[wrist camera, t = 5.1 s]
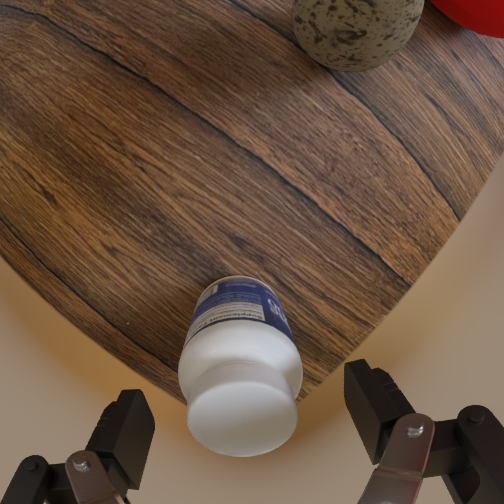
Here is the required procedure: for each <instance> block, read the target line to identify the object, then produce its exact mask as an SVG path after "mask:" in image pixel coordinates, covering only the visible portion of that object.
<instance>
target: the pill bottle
mask: <svg viewBox="0 0 504 504" xmlns="http://www.w3.org/2000/svg"><path fill="white" fill-rule="evenodd" d="M178 378H179V384H180V388H181V390H182V393H183V395H184V397H185V398H186V400H187V404H188V406H187V415H186V419H187V426H188V429H189V431H190V433H191V435H192V436H193V437H194V438H195V440H196V441H197V442H199V443H200V444H201V445H202V446H204V447H206V448H208V449H209V450H211V451H213V452H216V453H219V454H223V455H227V456H235V457H249V456H255V455H260V454H263V453H267V452H269V451H272V450H274V449H275V448H277V447H280V446H281V445H282V444H283V443H285V442H286V441H287V440H288V439H289V438H290V437H291V435H292V434H293V432H294V430H295V428H296V425H297V421H298V415H297V408H296V403H295V399H296V397H297V395H298V393H299V391H300V388H301V385H302V378H303V369H302V363H301V359H300V356H299V352H298V350H297V347H296V344H295V342H294V339H293V336H292V333H291V331H290V328H289V325H288V322H287V319H286V317H285V314H284V312H283V309H282V306H281V304H280V302H279V300H278V298H277V296H276V295H275V293H274V292H273V290H272V289H271V288H270V287H269V286H268V285H266V284H265V283H263V282H262V281H260V280H258V279H255V278H252V277H249V276H242V275H235V276H228V277H224V278H222V279H219V280H217V281H215V282H214V283H212V284H211V285H209V286H208V287H207V288H206V289H205V290H204V291H203V293H202V294H201V296H200V298H199V299H198V302H197V304H196V307H195V309H194V313H193V316H192V320H191V323H190V326H189V330H188V333H187V336H186V340H185V344H184V347H183V350H182V354H181V357H180V361H179V368H178Z"/></svg>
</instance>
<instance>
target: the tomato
mask: <svg viewBox="0 0 504 504" xmlns="http://www.w3.org/2000/svg"><path fill="white" fill-rule="evenodd" d="M429 1H430V2H431V3H433V4H434V5H435V6H436V7H437V8H438V9H439V10H440V11H441V12H443V13H444V14H445V15H447V16H448V17H449V18H450V19H452V20H453V21H455V22H456V23H458V24H459V25H461V26H463V27H465V28H467V29H469V30H472V31H474V32H476V33H478V34H482V35H486V36H491V37H496V38H504V0H429Z"/></svg>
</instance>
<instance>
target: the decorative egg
mask: <svg viewBox="0 0 504 504" xmlns="http://www.w3.org/2000/svg"><path fill="white" fill-rule="evenodd" d="M423 6H424V0H294V3H293V7H292V17H291V18H292V27H293V31H294V34H295V36H296V38H297V40H298V42H299V44H300V45H301V47H302V48H303V50H304V51H305V52H306V53H307V54H308V55H309V56H310V57H312V58H313V59H314V60H315V61H317V62H318V63H320V64H322V65H324V66H326V67H328V68H331V69H334V70H338V71H344V72H361V71H366V70H370V69H373V68H376V67H378V66H380V65H382V64H384V63H386V62H387V61H389V60H390V59H392V58H393V57H394V56H395V55H396V54H397V53H398V52H399V51H400V50H401V49H402V48H403V47H404V46H405V44H406V43H407V42H408V40H409V39H410V37H411V36H412V34H413V32H414V30H415V28H416V26H417V24H418V21H419V19H420V17H421V14H422V10H423Z"/></svg>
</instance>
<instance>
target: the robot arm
mask: <svg viewBox="0 0 504 504" xmlns="http://www.w3.org/2000/svg"><path fill="white" fill-rule="evenodd" d="M344 397H345V403H346V406H347V408H348V410H349V413H350V415H351V417H352V419H353V422H354V424H355V426H356V428H357V431H358V433H359V435H360V437H361V439H362V442H363V444H364V446H365V448H366V451H367V453H368V455H369V457H370V460H371V462H372V464H373V465H375V464H378V463H379V466H378V467H377V469H375V470H374V471H373V473H372V475H371V477H370V479H369V482H368V484H367V486H366V488H365V490H364V492H363V494H362V496H361V498H360V500H359V501H358V503H357V504H415V502H416V499H417V496H418V493H419V490H420V487H421V484H422V480H423V478H427V477H434V476H441V477H442V479H443V481H444V483H445V485H446V487H447V489H448V491H449V493H450V495H451V497H452V499H453V501H454V503H455V504H504V427H503V426H502V425H501V423H500V422H499V421H498V420H497V418H496V417H495V416H494V415H493V413H492V412H491V411H490V410H489V409H488V408H486V407H484V406H480V405H471V406H467V407H465V408H464V409H462V410H461V411H460V412H459V414H458V417H457V419H452V420H445V421H437V422H436V421H433V420H432V419H431V418H430V417H428V416H426V415H424V414H419V413H416V412H415V410H414V409H413V407H412V406H411V405H410V403H409V402H408V401H407V399H406V398H405V396H404V395H403V393H402V392H401V390H399V388H398V386H397V385H396V383H394V381H393V379H392V378H391V377H390V375H389V374H388V373H387V372H385V371H384V370H382V369H380V368H375V369H371V368H370V367H369V365H368V364H367V362H366V361H365V359H360V360H356V361H351V362H347V363H345V366H344ZM154 431H155V422H154V417H153V415H152V412H151V410H150V408H149V406H148V403H147V401H146V399H145V396H144V394H143V392H142V391H141V390H140V389H131V390H122V391H121V393H120V395H119V397H118V399H117V401H113V402H112V403H111V404H109V405H108V406H107V407H106V408H105V409H104V411H103V413H102V415H101V417H100V420H99V421H98V423H97V426H96V428H95V429H94V431H93V433H92V436H91V438H90V440H89V442H88V444H87V446H86V448H85V450H81V451H77V452H75V453H73V454H72V455H71V456H70V457H69V458H68V459H67V461H66V463H61V464H50V465H49V464H48V462H47V461H46V460H45V459H44V458H43V457H42V456H39V455H32V456H29V457H27V458H25V459H24V460H23V461H22V462H21V463H20V465H19V467H18V469H17V471H16V472H15V475H14V477H13V478H12V480H11V482H10V484H9V486H8V488H7V490H6V492H5V494H4V496H3V499H2V501H1V503H0V504H43V503H44V502H45V503H46V504H132V503H131V501H130V500H129V498H128V497H127V495H126V494H127V490H128V489H134V490H139V486H140V483H141V478H142V475H143V471H144V467H145V463H146V460H147V456H148V452H149V449H150V445H151V441H152V438H153V434H154Z"/></svg>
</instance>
